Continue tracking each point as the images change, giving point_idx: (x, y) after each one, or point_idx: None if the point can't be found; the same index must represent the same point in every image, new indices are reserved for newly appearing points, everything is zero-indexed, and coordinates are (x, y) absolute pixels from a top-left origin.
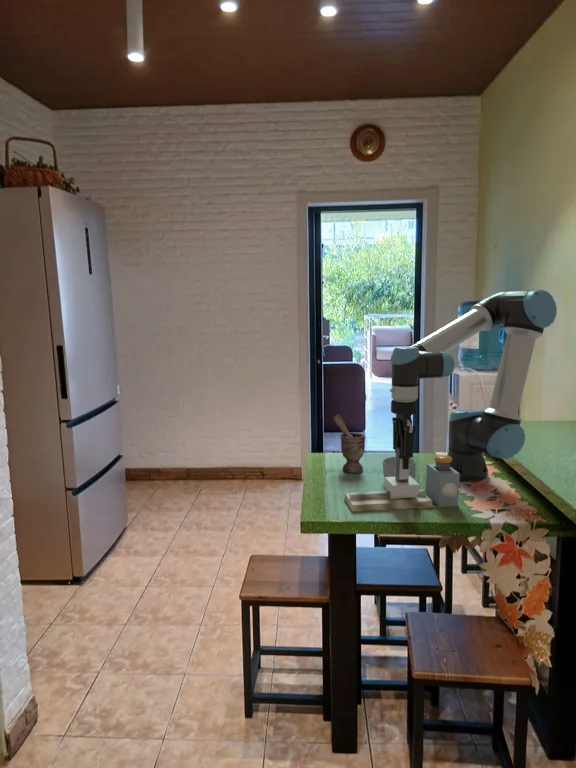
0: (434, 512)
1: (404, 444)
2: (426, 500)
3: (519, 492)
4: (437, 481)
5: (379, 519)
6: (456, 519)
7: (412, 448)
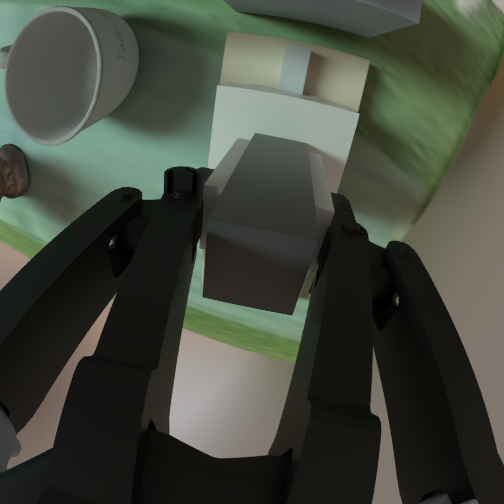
0: (404, 86)
1: (389, 383)
2: (359, 79)
3: None
4: (372, 18)
5: None
6: (469, 70)
7: (441, 314)
